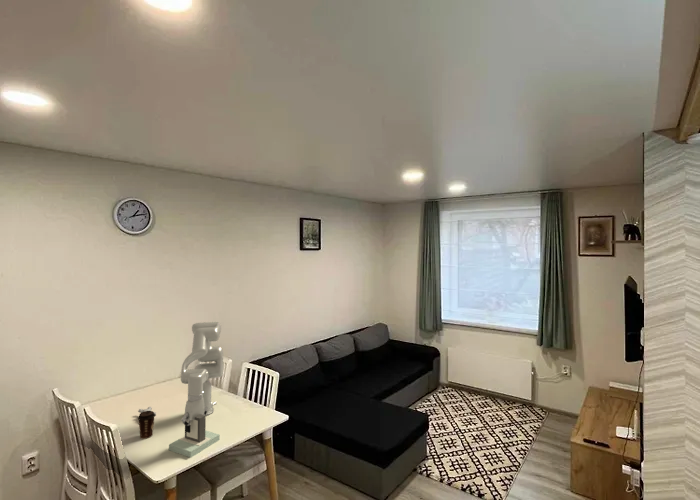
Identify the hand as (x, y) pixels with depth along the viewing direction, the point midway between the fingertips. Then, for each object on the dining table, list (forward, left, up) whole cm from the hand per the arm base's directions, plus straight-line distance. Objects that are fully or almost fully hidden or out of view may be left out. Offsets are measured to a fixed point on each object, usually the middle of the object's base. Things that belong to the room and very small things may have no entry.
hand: (195, 428), depth 207 cm
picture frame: (0, 0, -6) cm, 6 cm away
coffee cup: (+5, -32, -9) cm, 34 cm away
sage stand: (0, 0, -9) cm, 9 cm away
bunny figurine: (-10, -52, -10) cm, 54 cm away
